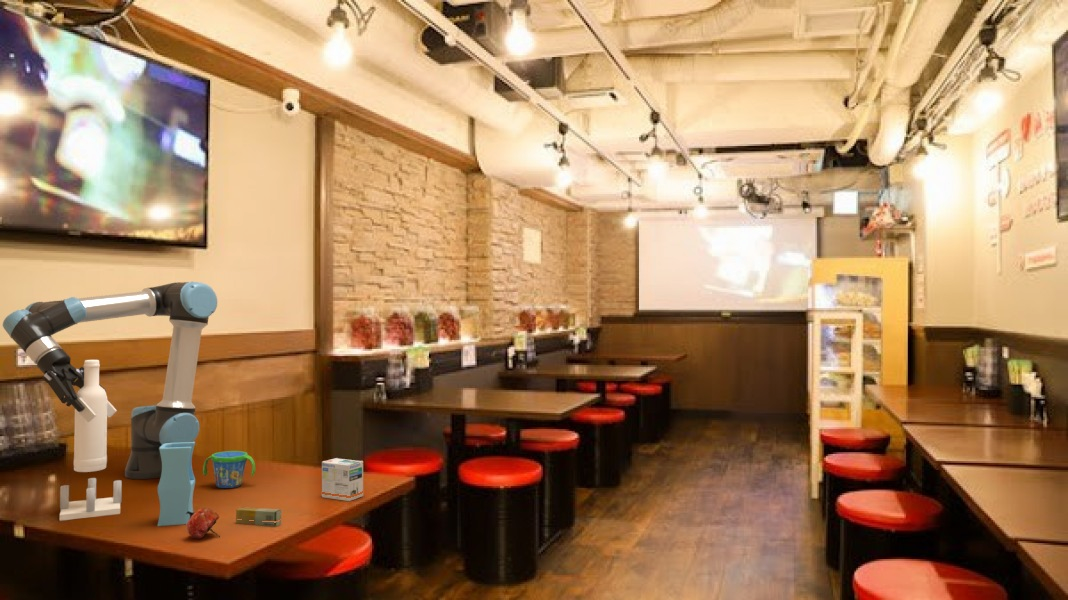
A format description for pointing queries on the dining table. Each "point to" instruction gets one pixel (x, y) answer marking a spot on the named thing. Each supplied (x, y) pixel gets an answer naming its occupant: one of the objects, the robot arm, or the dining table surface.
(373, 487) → the dining table surface
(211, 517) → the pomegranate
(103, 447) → the bottle
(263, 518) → the medication box
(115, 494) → the pin caddy
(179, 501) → the vase
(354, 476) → the light bulb box
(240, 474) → the snack cup
